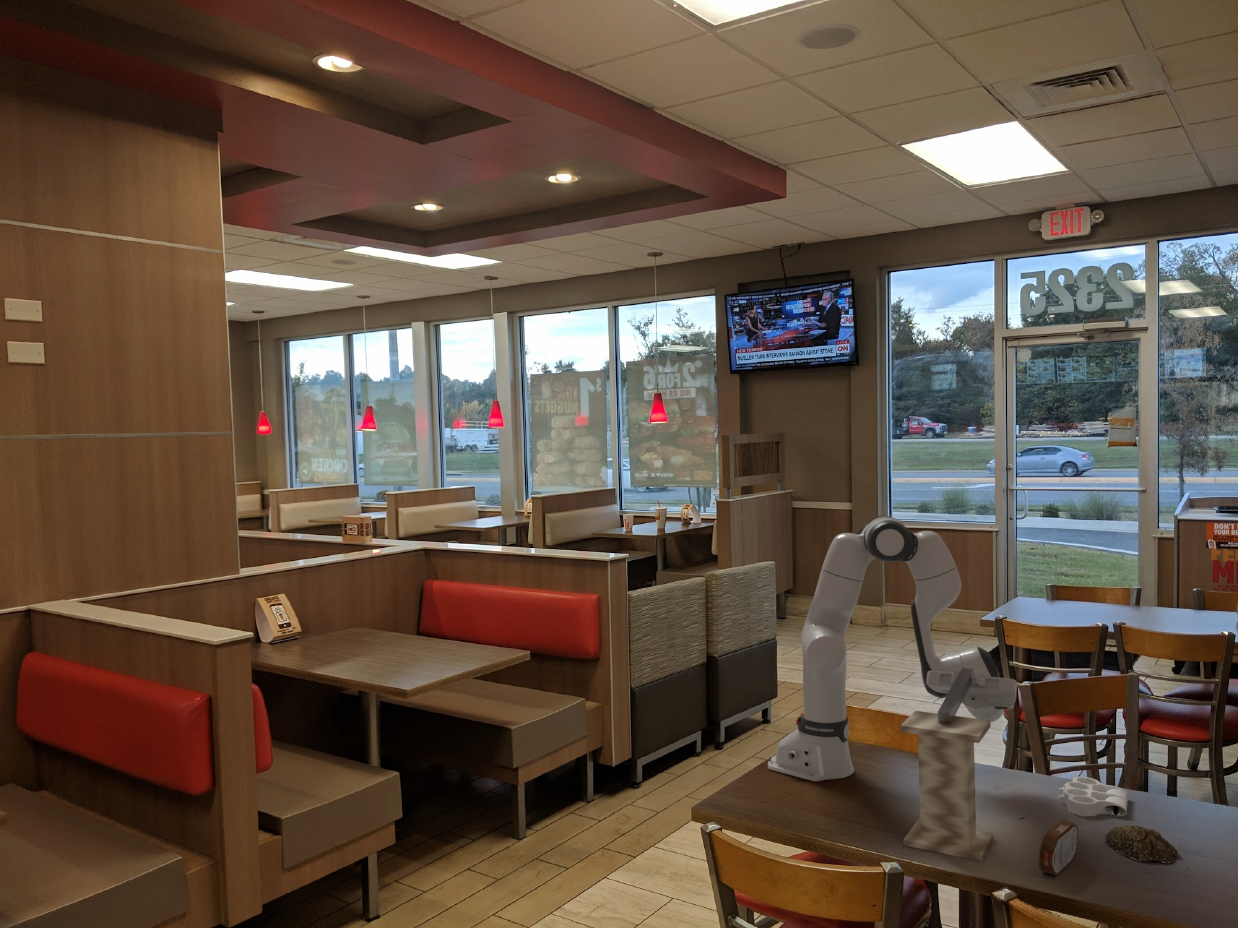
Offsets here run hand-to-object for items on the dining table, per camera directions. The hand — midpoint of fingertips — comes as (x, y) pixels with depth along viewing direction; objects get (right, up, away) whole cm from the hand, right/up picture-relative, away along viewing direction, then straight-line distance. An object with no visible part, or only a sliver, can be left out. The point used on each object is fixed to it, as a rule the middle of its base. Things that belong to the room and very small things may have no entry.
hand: (965, 675), depth 213 cm
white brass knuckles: (+31, -31, +2) cm, 44 cm away
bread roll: (+29, -32, -22) cm, 48 cm away
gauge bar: (-4, -4, -7) cm, 9 cm away
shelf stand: (-9, -32, -16) cm, 37 cm away
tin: (+8, -32, -28) cm, 44 cm away
